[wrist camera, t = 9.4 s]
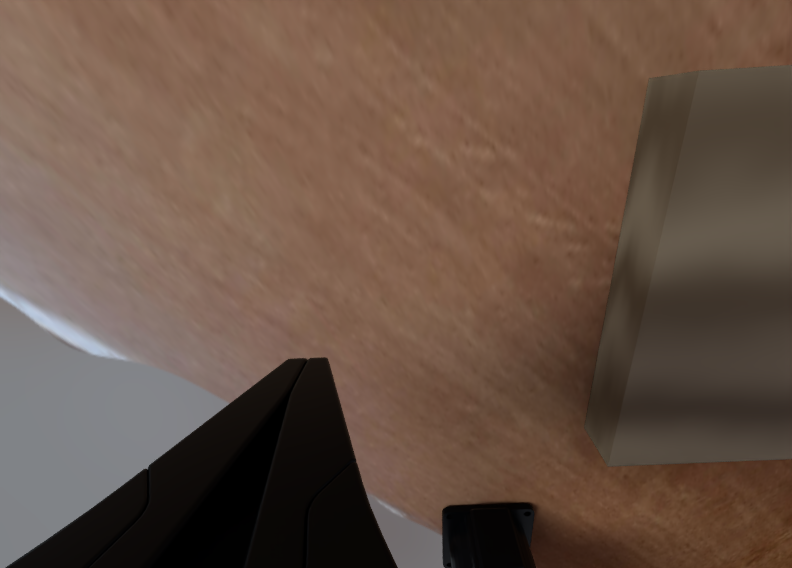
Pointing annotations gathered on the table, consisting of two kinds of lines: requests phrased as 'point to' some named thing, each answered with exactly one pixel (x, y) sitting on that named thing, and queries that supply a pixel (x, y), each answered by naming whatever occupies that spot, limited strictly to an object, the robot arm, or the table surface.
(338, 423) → the robot arm
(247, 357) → the table surface
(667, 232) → the block
